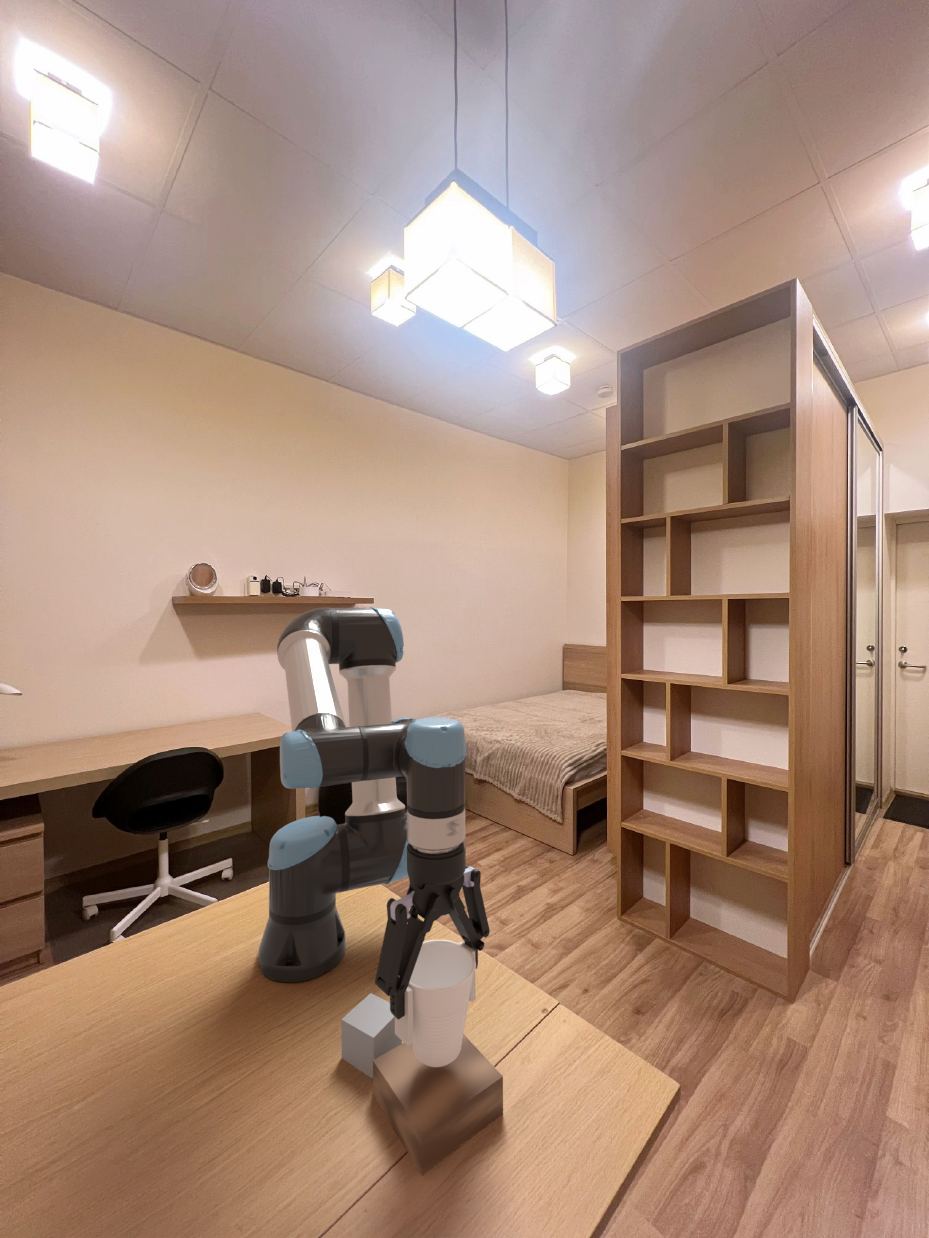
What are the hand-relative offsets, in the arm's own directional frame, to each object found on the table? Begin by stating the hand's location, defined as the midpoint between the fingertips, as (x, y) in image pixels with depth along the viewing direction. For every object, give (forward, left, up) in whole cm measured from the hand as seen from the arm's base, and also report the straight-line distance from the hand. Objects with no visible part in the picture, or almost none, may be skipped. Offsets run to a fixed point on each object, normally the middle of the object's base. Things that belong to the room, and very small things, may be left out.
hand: (436, 1015), depth 66 cm
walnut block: (0, 0, -12) cm, 12 cm away
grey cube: (-12, -2, -12) cm, 17 cm away
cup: (0, 0, -4) cm, 4 cm away
